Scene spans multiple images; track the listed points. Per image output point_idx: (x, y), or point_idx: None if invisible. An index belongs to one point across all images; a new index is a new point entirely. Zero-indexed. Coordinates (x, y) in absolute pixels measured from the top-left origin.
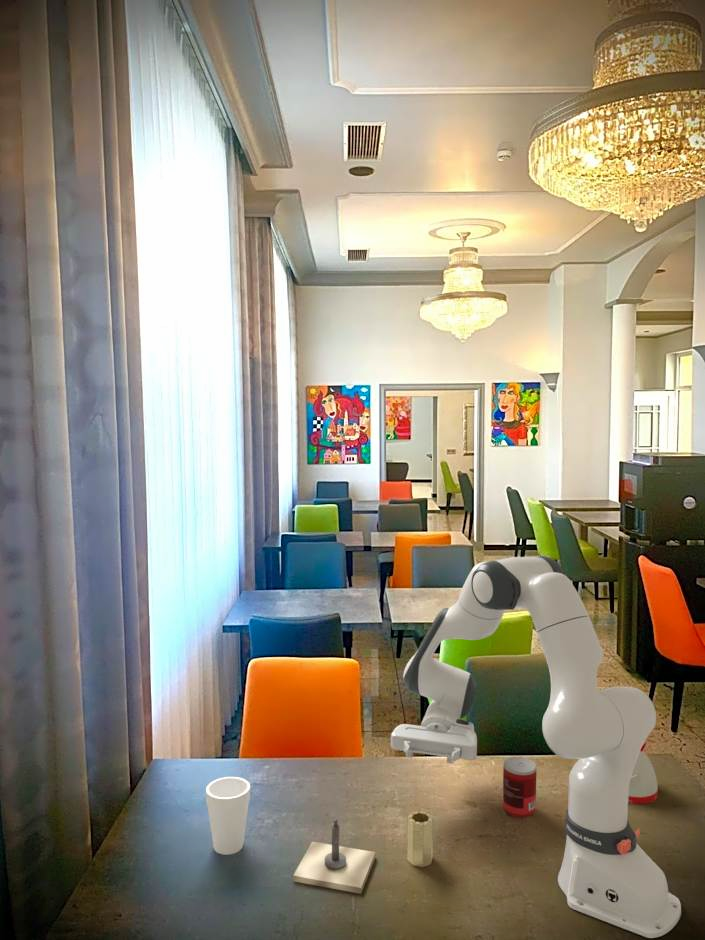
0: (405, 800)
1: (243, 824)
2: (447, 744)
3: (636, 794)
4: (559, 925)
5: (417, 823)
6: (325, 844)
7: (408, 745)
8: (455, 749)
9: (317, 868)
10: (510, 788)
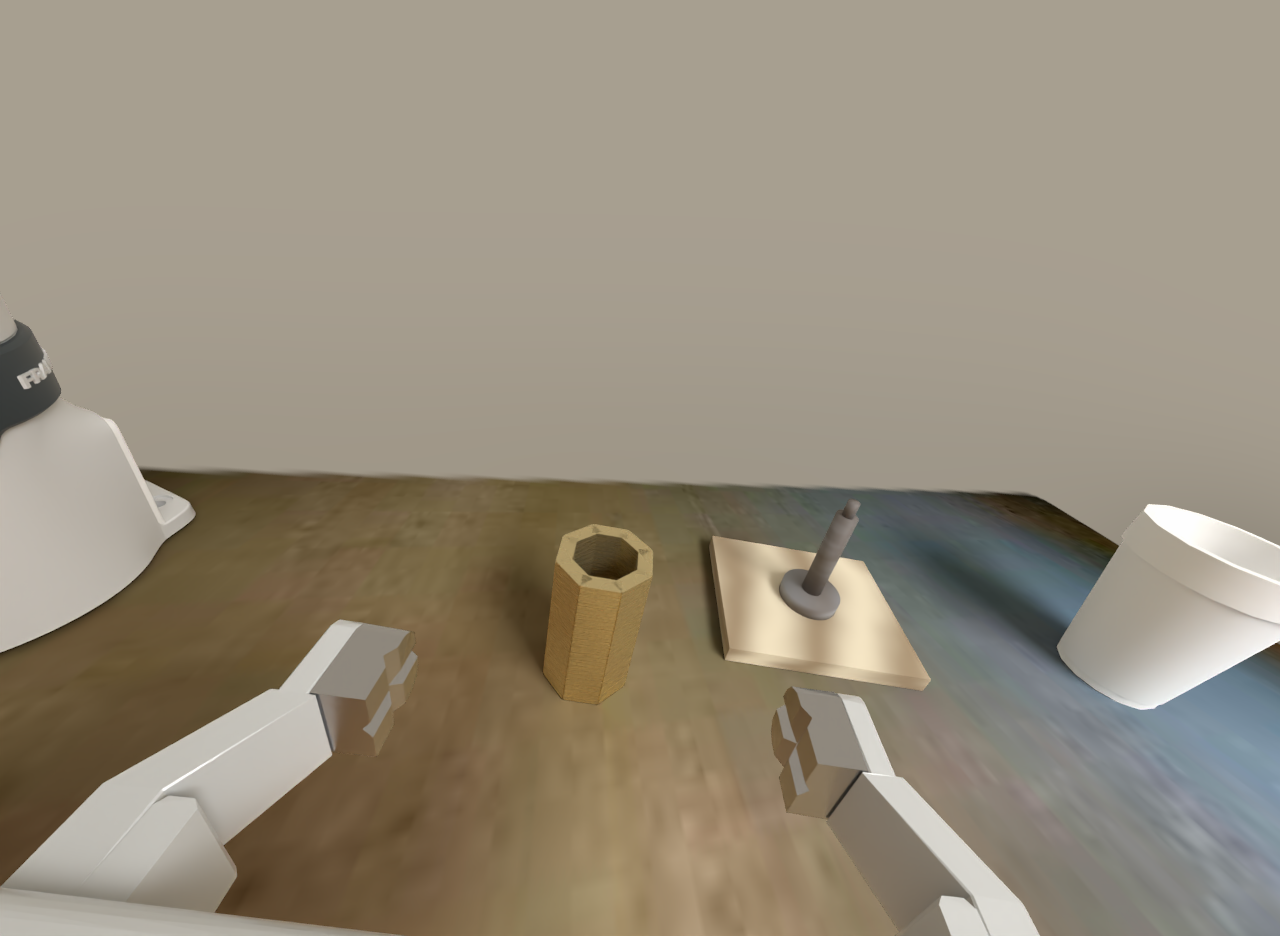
0: None
1: (1101, 607)
2: (260, 921)
3: None
4: (277, 483)
5: (614, 529)
6: (885, 669)
7: (899, 810)
8: (181, 800)
9: (833, 581)
10: None
